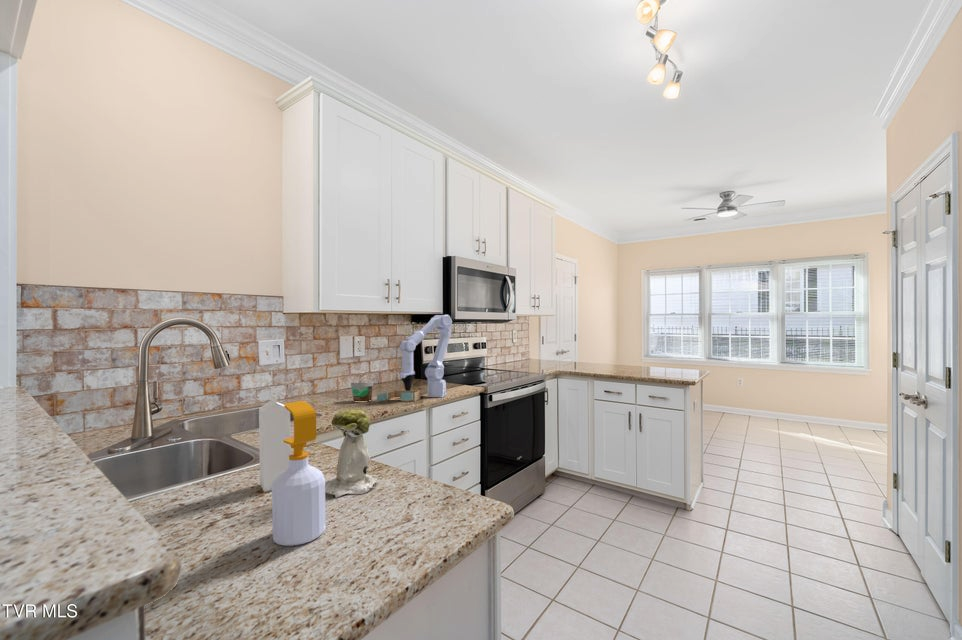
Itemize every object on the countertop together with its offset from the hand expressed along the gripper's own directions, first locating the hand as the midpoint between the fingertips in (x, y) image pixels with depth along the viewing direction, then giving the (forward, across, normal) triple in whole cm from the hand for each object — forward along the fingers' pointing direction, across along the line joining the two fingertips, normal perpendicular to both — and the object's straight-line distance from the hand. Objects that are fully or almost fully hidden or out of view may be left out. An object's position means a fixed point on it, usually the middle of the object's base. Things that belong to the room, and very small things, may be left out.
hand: (408, 390), depth 209 cm
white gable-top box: (+6, +109, +9) cm, 109 cm away
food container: (+5, +7, -23) cm, 25 cm away
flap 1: (+4, +6, -11) cm, 14 cm away
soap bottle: (+6, +129, +30) cm, 132 cm away
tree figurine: (+6, +107, +28) cm, 111 cm away
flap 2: (+4, +3, +1) cm, 5 cm away
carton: (+5, -2, -3) cm, 6 cm away
